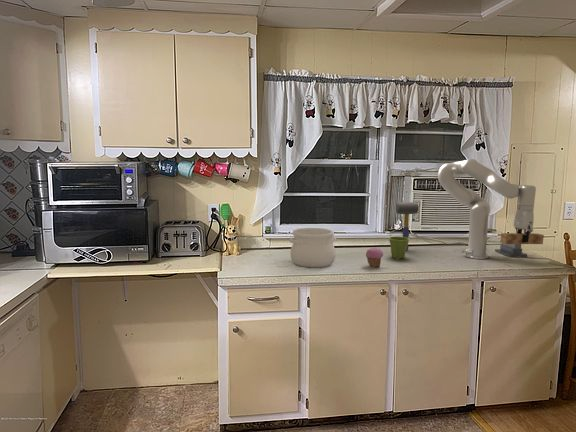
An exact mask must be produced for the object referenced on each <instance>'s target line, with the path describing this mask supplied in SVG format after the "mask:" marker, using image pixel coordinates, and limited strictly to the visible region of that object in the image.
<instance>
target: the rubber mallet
mask: <svg viewBox="0 0 576 432" xmlns="http://www.w3.org/2000/svg"><path fill="white" fill-rule="evenodd" d="M395 213H396V214H398V215H404V217H403V218H404V221H403V227H402V237H406V238H409V236H410V228H409V220H410V219H409V218H410V215H415V214H417V213H419V203H418V202H415V201H414V202H413V201H402V202H397V203H396V204H395ZM409 239H410V238H409ZM408 249H409V244H408V245H407V249H406V251H408Z"/></svg>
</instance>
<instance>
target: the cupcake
mask: <svg viewBox="0 0 576 432" xmlns="http://www.w3.org/2000/svg"><path fill="white" fill-rule="evenodd" d="M365 257H366V259H367V264H368V265H369V266H370V267H374V268H376V267H380V266H381V261H382V260H381V259H382V258H383V257H384V253H383V250H382V249H381V248H378V247H370V248H368V249H367V250H366V253H365Z"/></svg>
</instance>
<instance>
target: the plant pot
mask: <svg viewBox="0 0 576 432" xmlns="http://www.w3.org/2000/svg"><path fill="white" fill-rule="evenodd" d="M410 240H411V238H406V237H403V236H389V237H388V241H389V245H390V253H391V258H393V259H398V260H400V259H405V257H406V253H407V250H406V249H407V245H408V246H409V241H410Z"/></svg>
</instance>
